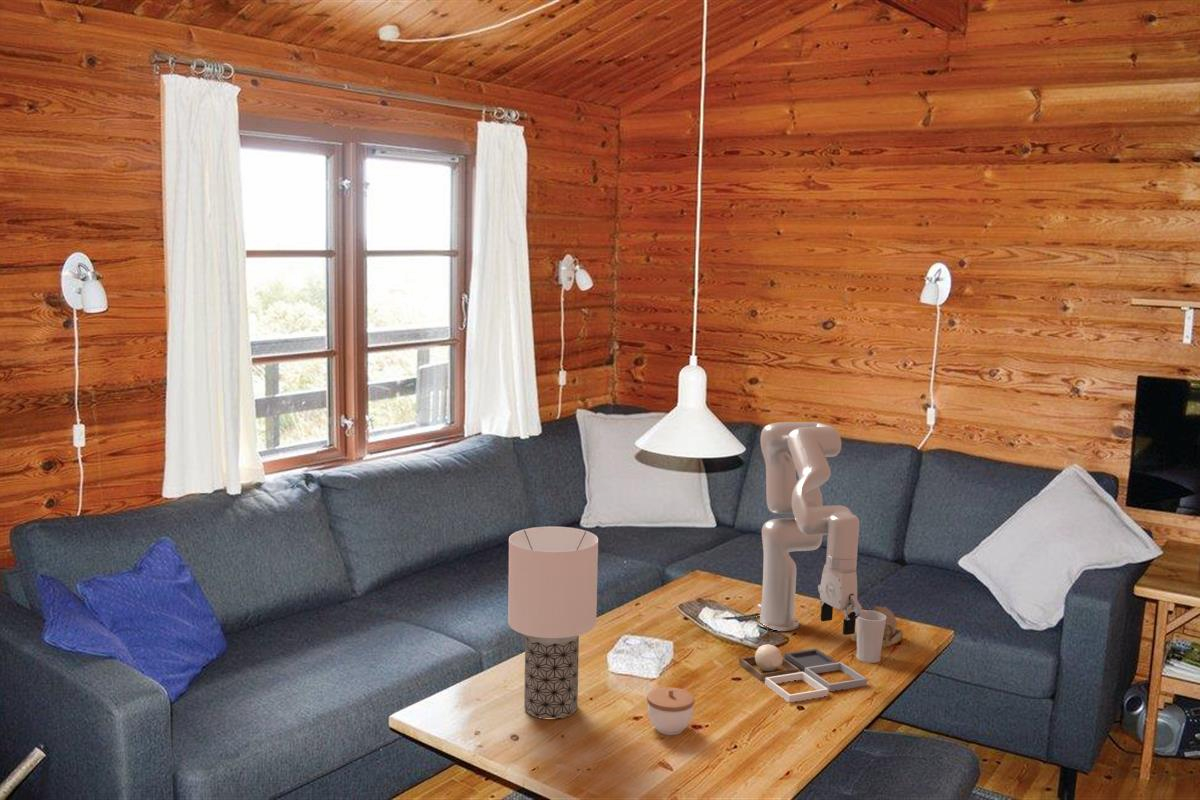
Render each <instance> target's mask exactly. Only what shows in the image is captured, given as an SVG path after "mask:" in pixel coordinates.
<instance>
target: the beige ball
mask: <svg viewBox="0 0 1200 800" xmlns="http://www.w3.org/2000/svg"><path fill="white" fill-rule="evenodd" d="M754 654H755V655H754V656H755V661H756V663H755V664H756V666H757V667H758V668H759V669H760V670H762V671H764V672H775V671H776V670H777V669H778V668H780V667H781V666H782V665H781V664H782V661H783V658H784V657H783V654H782V653H781V651H780V649H779V648H778V647H777V646H775V645H773V644H768V643H767V644H763V645H760V646H759V647H758V648H757V649H756V651H755V653H754Z"/></svg>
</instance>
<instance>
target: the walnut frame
mask: <svg viewBox="0 0 1200 800" xmlns="http://www.w3.org/2000/svg"><path fill="white" fill-rule="evenodd" d="M784 658H785V657H783V661H782V664H781V666H782V667H783V666H784V667H783V668H785V669H784V670H777V671H776V670H775V671H769V672H764V673H762V672H761V671H760V670H758V669H756V668H755V666H753V665H754V664H756V661H755V655H753V656H747V657H746V656H745V657H740V658H739V659H738V661H739V662H738V666H739V667H741V668H742V669H744V670H745V671H746V672H748V673H749V674H750V675H752V676H753V677H754V678H756V679H757V680H759V681H760V682H761V681H762V682H765V678H766V677H773V676H779V675H785V674H792V673H798V672H800V669H798V668H797V667H796V666H794V665H793V664H791V663H790V662H788V661H787V660H785V659H784ZM786 668H787V669H786Z"/></svg>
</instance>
